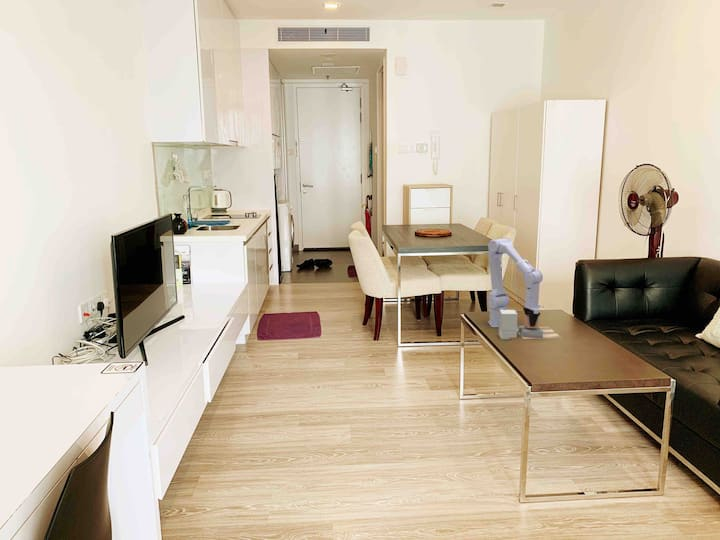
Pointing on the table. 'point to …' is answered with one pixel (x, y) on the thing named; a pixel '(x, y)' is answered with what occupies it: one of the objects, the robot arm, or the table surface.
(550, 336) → the base board
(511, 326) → the supplement box
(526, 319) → the block
